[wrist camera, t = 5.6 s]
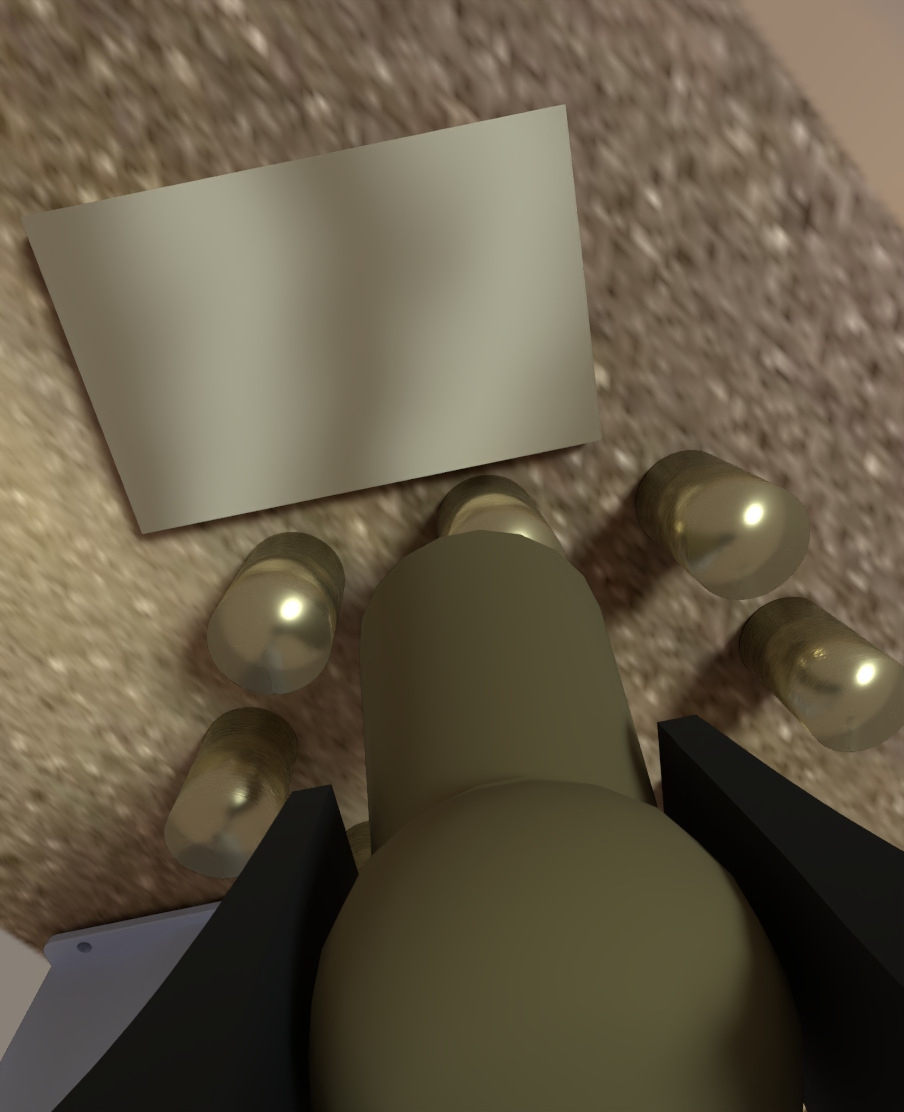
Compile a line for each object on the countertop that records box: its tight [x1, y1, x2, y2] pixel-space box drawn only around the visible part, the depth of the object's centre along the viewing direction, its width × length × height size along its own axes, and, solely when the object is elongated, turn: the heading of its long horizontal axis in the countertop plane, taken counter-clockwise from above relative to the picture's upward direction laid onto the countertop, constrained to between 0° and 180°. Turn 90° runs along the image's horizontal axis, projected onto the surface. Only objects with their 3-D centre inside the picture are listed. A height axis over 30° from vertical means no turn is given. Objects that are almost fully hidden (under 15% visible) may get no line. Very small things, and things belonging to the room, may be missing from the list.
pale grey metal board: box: [20, 104, 602, 534], centre depth 17 cm, size 13×8×1 cm, turn 101°
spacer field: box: [164, 450, 904, 878], centre depth 20 cm, size 21×14×4 cm
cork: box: [308, 530, 804, 1112], centre depth 11 cm, size 6×6×11 cm
